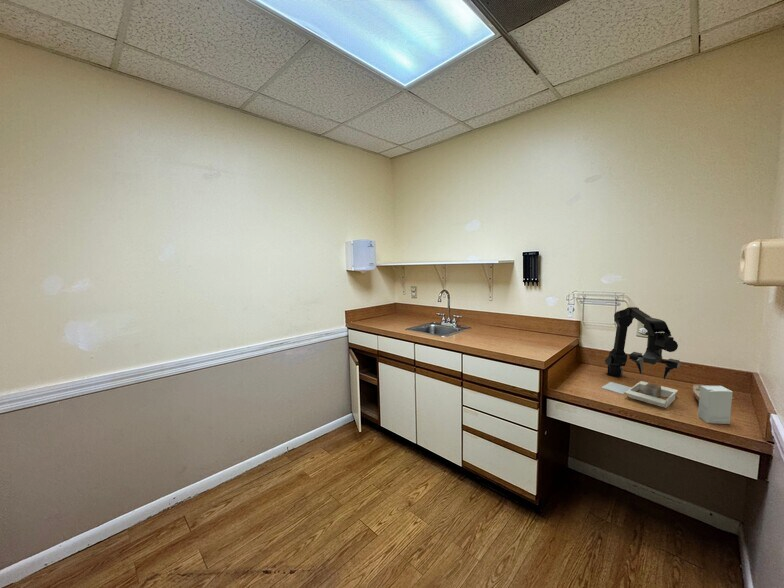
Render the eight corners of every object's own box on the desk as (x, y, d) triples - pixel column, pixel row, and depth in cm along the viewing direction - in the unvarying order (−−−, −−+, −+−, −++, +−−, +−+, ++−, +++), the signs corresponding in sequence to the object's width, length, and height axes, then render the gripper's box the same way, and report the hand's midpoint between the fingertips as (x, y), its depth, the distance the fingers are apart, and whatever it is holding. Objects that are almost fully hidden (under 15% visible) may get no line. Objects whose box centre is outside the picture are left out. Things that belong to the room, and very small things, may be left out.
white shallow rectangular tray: (624, 399, 157) (624, 392, 156) (640, 387, 170) (640, 380, 169) (663, 410, 144) (664, 403, 144) (677, 396, 157) (678, 390, 157)
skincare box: (718, 417, 137) (721, 385, 135) (730, 425, 131) (734, 391, 129) (696, 416, 139) (699, 384, 137) (707, 423, 133) (710, 390, 131)
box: (641, 398, 156) (642, 387, 156) (648, 393, 162) (648, 382, 161) (654, 402, 152) (655, 390, 152) (660, 397, 158) (661, 385, 157)
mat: (601, 388, 170) (601, 387, 170) (610, 382, 177) (610, 381, 177) (622, 394, 162) (622, 393, 162) (631, 388, 169) (631, 387, 168)
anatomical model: (727, 415, 139) (728, 405, 138) (696, 409, 145) (697, 399, 144) (715, 396, 157) (716, 386, 156) (688, 391, 163) (689, 382, 162)
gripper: (625, 344, 156) (624, 375, 158) (675, 353, 141) (672, 386, 143) (633, 340, 163) (632, 369, 164) (681, 348, 148) (679, 380, 149)
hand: (652, 376), depth 155 cm, fingers open, 9 cm apart
